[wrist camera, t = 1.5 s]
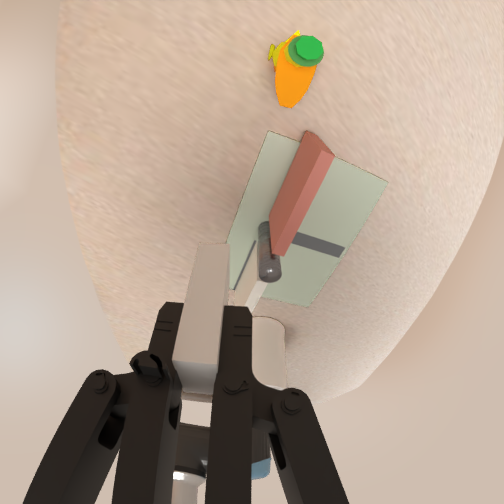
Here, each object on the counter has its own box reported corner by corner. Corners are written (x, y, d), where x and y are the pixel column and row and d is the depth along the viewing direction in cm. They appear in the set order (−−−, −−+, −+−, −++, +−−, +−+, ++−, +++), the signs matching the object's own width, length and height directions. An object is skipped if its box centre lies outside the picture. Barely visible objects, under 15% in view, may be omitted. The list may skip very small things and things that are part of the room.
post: (272, 238, 34) (276, 285, 27) (255, 233, 33) (255, 279, 27) (279, 224, 32) (285, 269, 26) (261, 218, 32) (263, 263, 26)
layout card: (307, 306, 42) (308, 307, 41) (211, 282, 39) (211, 284, 38) (387, 181, 29) (388, 182, 29) (268, 130, 26) (268, 131, 26)
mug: (215, 342, 48) (208, 402, 38) (214, 312, 43) (206, 380, 33) (280, 346, 48) (283, 406, 39) (289, 317, 43) (295, 384, 34)
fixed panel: (243, 292, 39) (241, 331, 34) (234, 290, 39) (232, 329, 34) (265, 243, 34) (268, 283, 29) (256, 240, 34) (257, 280, 28)
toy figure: (293, 100, 24) (320, 122, 15) (258, 92, 24) (260, 107, 14) (309, 40, 20) (348, 22, 10) (272, 31, 20) (286, 3, 10)
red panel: (278, 218, 32) (283, 256, 26) (268, 215, 31) (271, 253, 26) (316, 135, 26) (335, 155, 20) (306, 130, 25) (321, 150, 20)
